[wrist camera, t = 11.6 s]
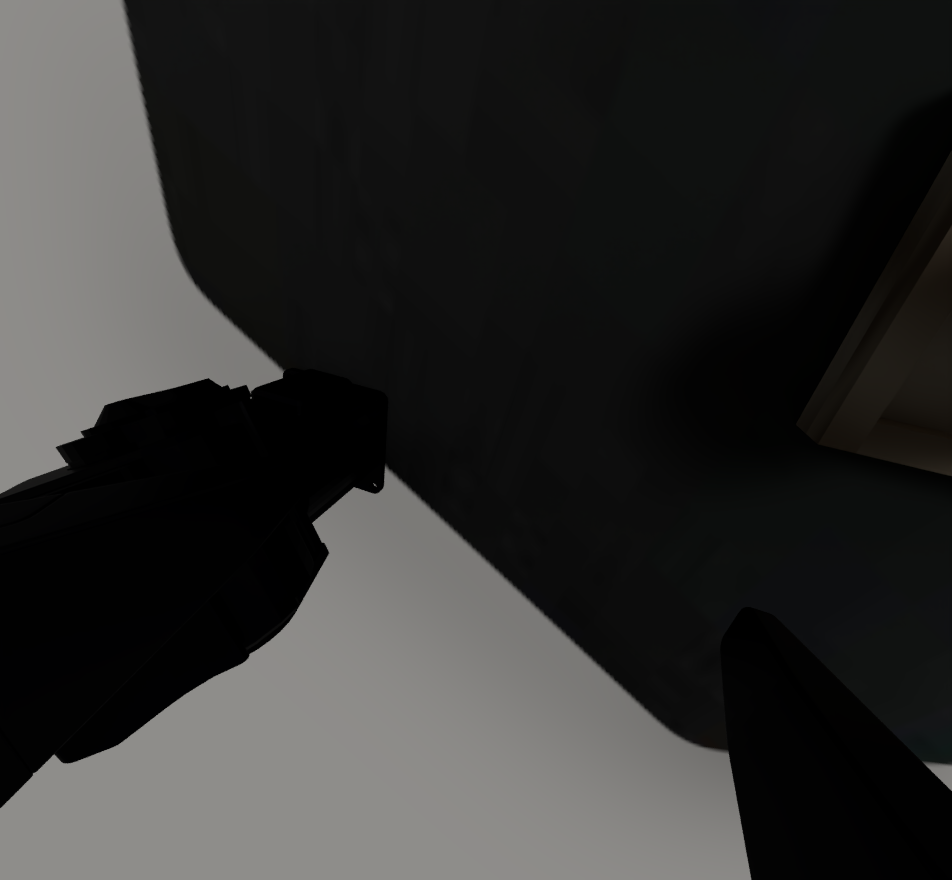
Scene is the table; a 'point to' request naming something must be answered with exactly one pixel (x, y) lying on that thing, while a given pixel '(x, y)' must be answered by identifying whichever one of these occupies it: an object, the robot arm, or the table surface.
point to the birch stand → (898, 353)
